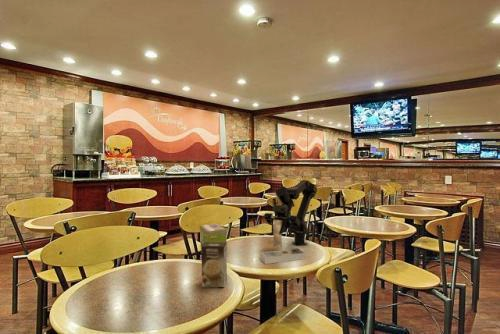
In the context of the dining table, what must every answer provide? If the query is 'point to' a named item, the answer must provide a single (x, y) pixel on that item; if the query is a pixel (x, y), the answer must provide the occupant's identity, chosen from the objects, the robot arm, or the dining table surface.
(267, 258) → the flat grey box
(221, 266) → the coffee box
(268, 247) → the dining table surface
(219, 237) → the tea box
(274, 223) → the peg
